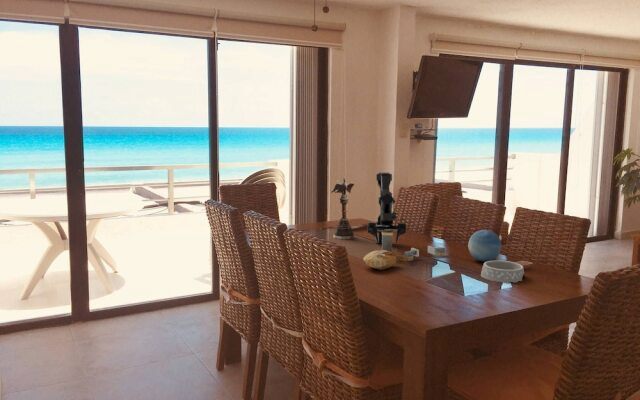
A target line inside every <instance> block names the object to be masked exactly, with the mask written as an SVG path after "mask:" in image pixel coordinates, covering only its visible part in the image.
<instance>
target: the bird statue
mask: <svg viewBox="0 0 640 400" xmlns="http://www.w3.org/2000/svg"><path fill="white" fill-rule="evenodd" d="M354 186H355V182H350V183H348V182H347V178H346V177H343V183H340V182H339V180H338V179H337V180H336V184H335V185H334V188H333V189H331V190H330V194H332V193H335V194H337V193H338V194H341V196H340V198H339V202H340V204H341V211H340V212H341V215H342V216H341V218H340V219H339V220H340V221H339V222H338V225H337V226H336V228H335V232H334V234H333V238H334V239H335V238H337V239H336V240H351V239H354V238H355V234H354V232H353V229H352V227H351V225H350V222H349V218H347V204H348V203H349V197H348V195H347V192H348V193H349V194H351V191H352V188H353V187H354Z"/></svg>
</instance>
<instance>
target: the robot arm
mask: <svg viewBox="0 0 640 400" xmlns="http://www.w3.org/2000/svg"><path fill="white" fill-rule="evenodd" d="M375 180H376V181H377V186H378V188H379V189H380V190H379V197H378V200H377V201H378V202H377V203H378V205H379V208H380V209H379V211H380V212H379V215H378V217H377V220H376V221H375V222H371V221H370V222H367V229H366V230H367V234H370V235H372V236H373V238H374V239H375V241H376V242H375V244H377V245H382V231H392V232H394V231H396V238H395V239H396V240H395V241H396V242H395V243H396V244H398V242H399V239H400V237H401V236H403V235H404V234H406V232H407V223H405V222H397V225H394V220H397V212H396V211H395V212H393V206H394V204H395V203H396V199H394V197H393V193H392V191H390V185H391V182H392V181H393V174H392V173H390V172H378V173H376V176H375Z"/></svg>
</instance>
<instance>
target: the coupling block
mask: <svg viewBox="0 0 640 400" xmlns="http://www.w3.org/2000/svg"><path fill="white" fill-rule="evenodd" d="M393 232H394V231H393ZM393 232H392V231H382V244H381V250H385V251H390V252H392V253H393V235H394V233H393Z"/></svg>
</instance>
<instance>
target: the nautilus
mask: <svg viewBox="0 0 640 400" xmlns="http://www.w3.org/2000/svg"><path fill="white" fill-rule="evenodd" d="M402 254H403V255H404V253H398V252H396V254H394V253H393V251H392V252H390V251H385V250H382V249H381V250H374V251H371V252H368V253H367V254H366V255H365V256H363V258H362V259H363V262H365V265H367V266H369V267H371V268H373V269H377V270H379V271H382V270H386V269H389V268H390V267H399V268H401V267H403V266H404V265H403V263H405V264H409V263H408V262H406V261H405V260H403V257H406V256H403V255H402ZM398 256H399V257H402V259H401V258H398ZM400 261H401V262H400ZM397 263H401V264H397Z"/></svg>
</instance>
